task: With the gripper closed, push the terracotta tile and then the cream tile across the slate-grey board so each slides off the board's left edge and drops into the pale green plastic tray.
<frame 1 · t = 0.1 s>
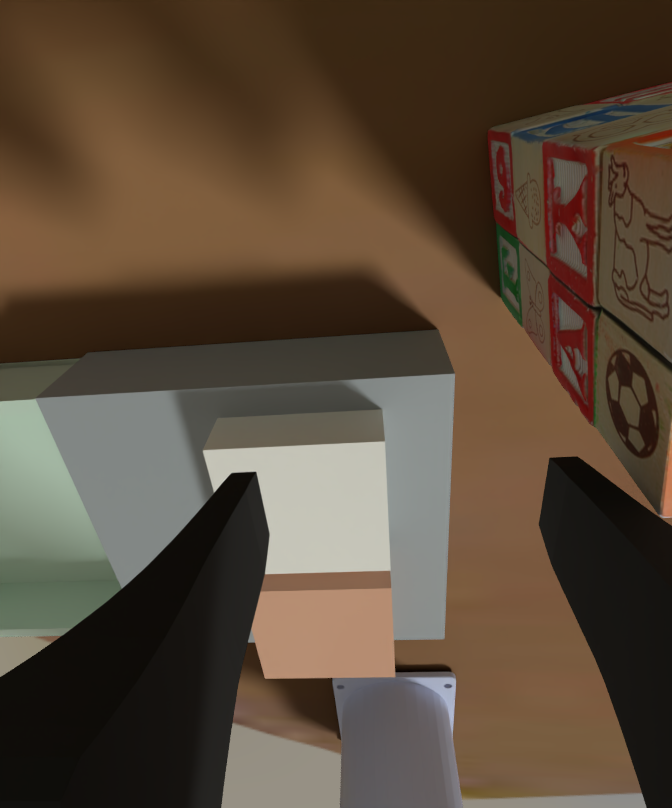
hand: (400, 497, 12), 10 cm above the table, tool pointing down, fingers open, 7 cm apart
tray: (24, 488, 25), on the table
terracotta tile: (325, 597, 23), point 4 cm above the table, touching board
board: (282, 476, 24), on the table
cream tile: (308, 479, 19), point 4 cm above the table, touching board
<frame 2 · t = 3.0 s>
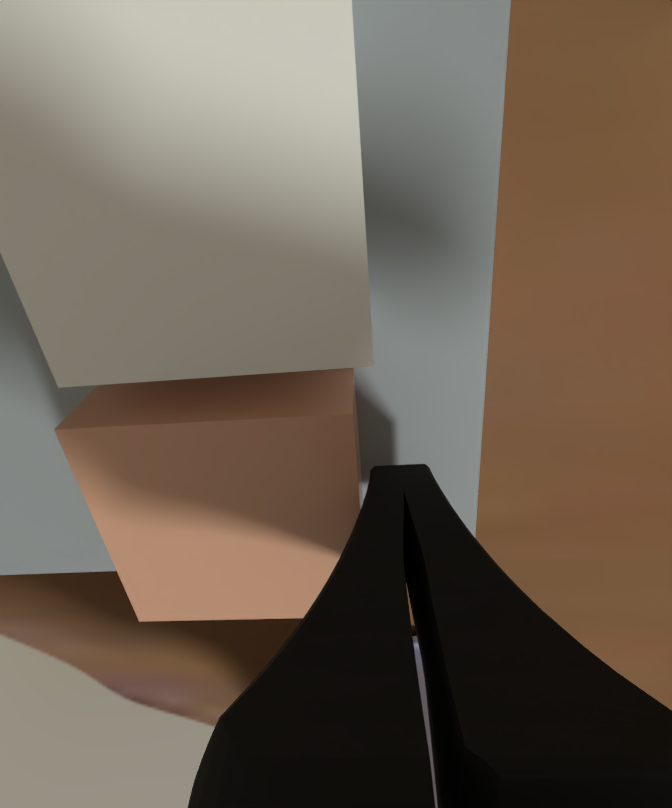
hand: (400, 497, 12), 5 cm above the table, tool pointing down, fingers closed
terracotta tile: (246, 477, 13), point 4 cm above the table, touching board, gripper
board: (198, 288, 14), on the table
cream tile: (204, 188, 9), point 4 cm above the table, touching board
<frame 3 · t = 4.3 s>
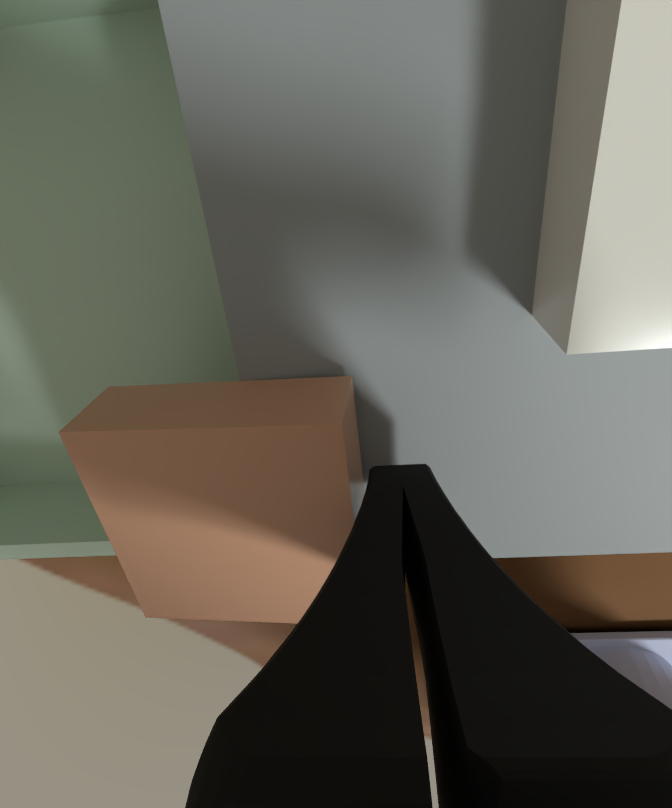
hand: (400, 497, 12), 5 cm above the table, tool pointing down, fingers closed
tray: (66, 300, 15), on the table
terracotta tile: (250, 481, 13), point 4 cm above the table, touching board
board: (524, 262, 14), on the table
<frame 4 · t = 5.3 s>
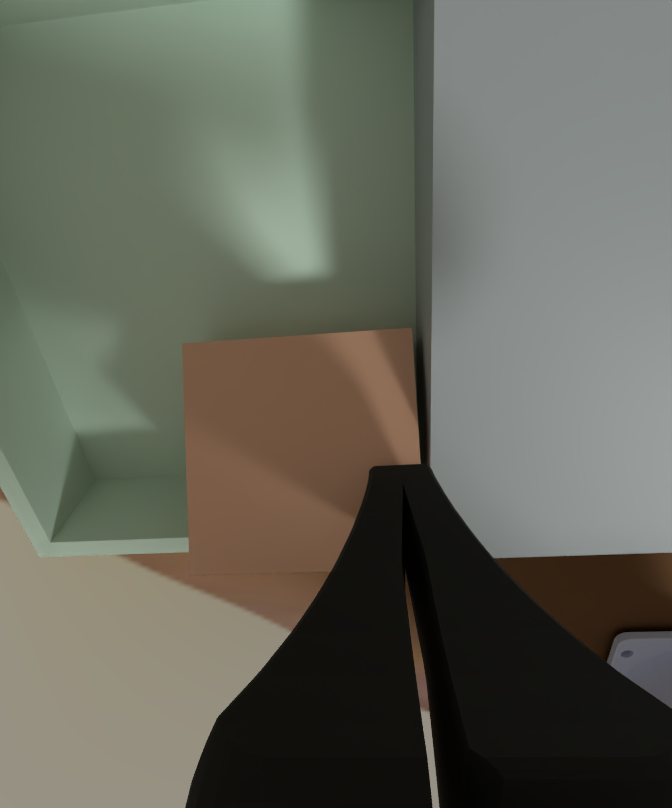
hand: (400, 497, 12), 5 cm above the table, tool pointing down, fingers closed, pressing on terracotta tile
tray: (208, 287, 14), on the table
terracotta tile: (310, 449, 14), point 2 cm above the table, tilted 34°, touching gripper, tray
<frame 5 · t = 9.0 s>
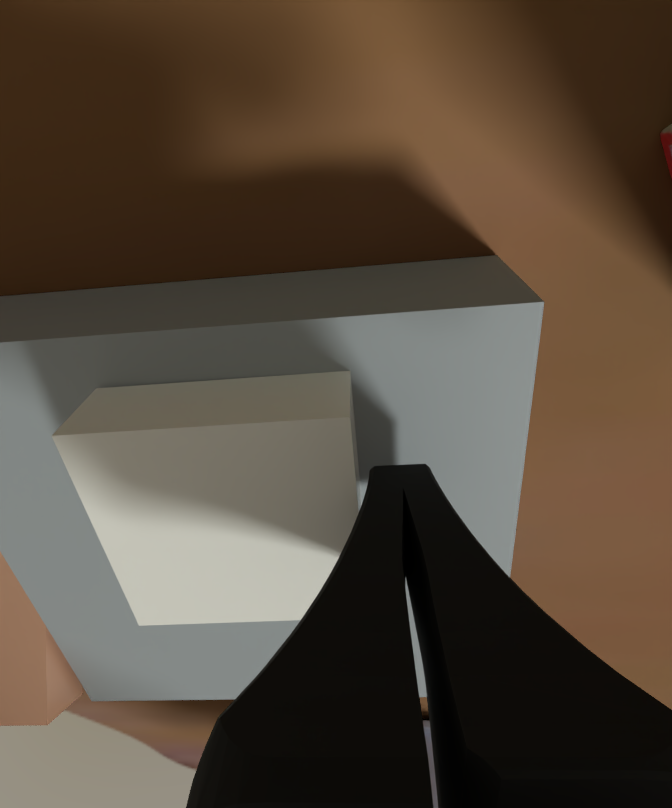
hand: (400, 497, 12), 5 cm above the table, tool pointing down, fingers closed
terracotta tile: (6, 614, 19), point 2 cm above the table, tilted 34°, touching tray
board: (272, 474, 18), on the table
cream tile: (244, 481, 13), point 4 cm above the table, touching board
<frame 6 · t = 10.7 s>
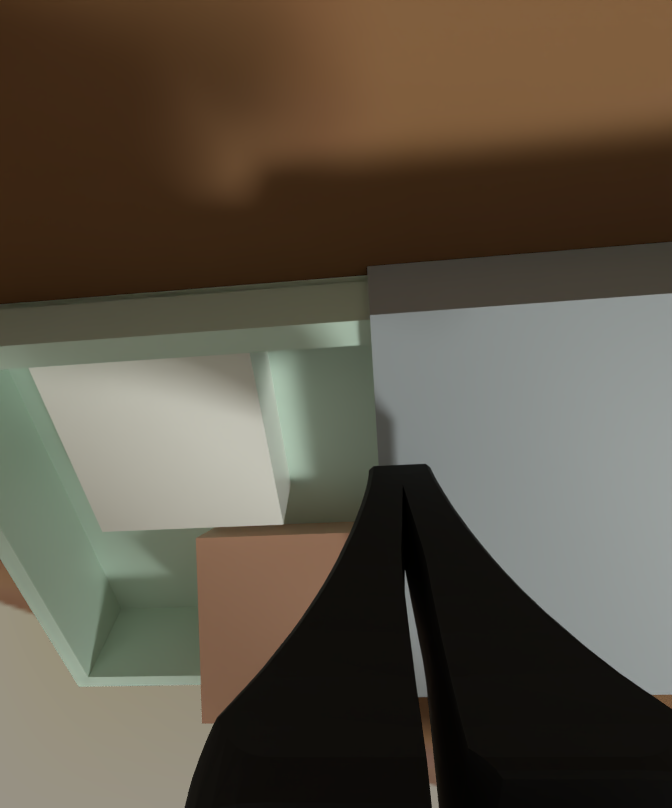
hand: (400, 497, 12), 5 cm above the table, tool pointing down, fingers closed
tray: (215, 477, 18), on the table
terracotta tile: (297, 606, 18), point 2 cm above the table, tilted 34°, touching tray
board: (596, 458, 17), on the table
cream tile: (166, 452, 14), point 3 cm above the table, tilted 180°, touching tray
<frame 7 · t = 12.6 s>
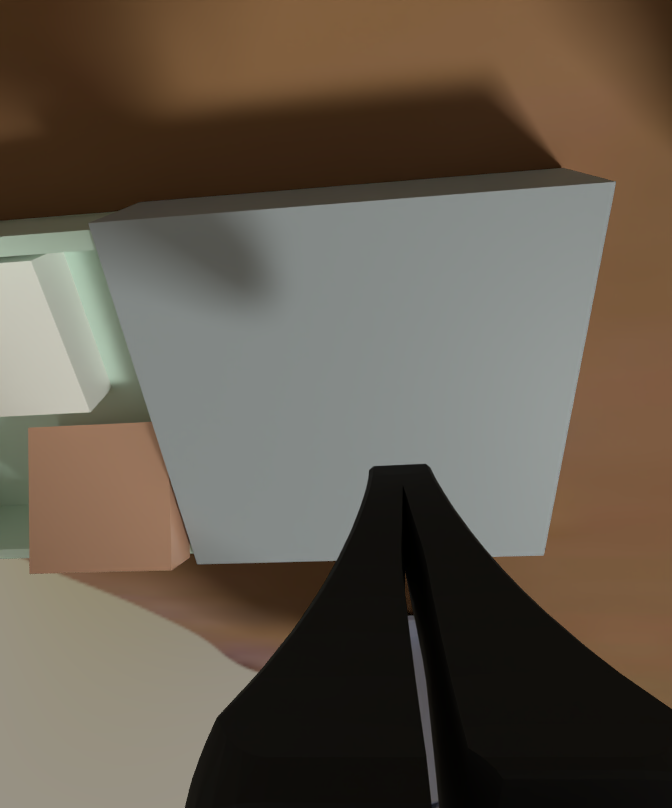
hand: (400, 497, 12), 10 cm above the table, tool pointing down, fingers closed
tray: (55, 385, 22), on the table
terracotta tile: (123, 491, 22), point 2 cm above the table, tilted 34°, touching tray
board: (356, 368, 21), on the table
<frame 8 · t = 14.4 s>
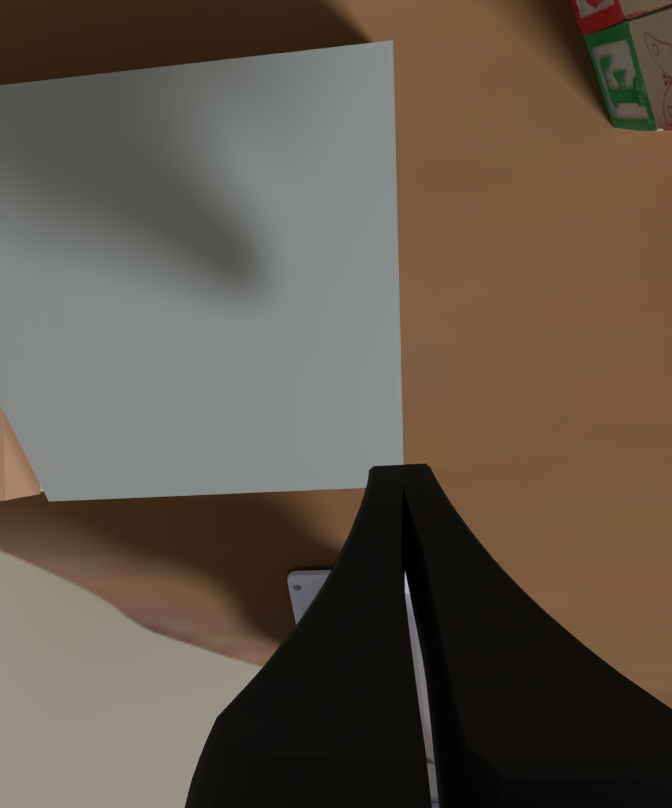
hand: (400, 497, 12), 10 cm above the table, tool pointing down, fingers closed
board: (208, 293, 20), on the table
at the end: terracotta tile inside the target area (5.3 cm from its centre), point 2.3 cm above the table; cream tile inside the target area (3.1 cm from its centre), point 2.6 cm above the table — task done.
